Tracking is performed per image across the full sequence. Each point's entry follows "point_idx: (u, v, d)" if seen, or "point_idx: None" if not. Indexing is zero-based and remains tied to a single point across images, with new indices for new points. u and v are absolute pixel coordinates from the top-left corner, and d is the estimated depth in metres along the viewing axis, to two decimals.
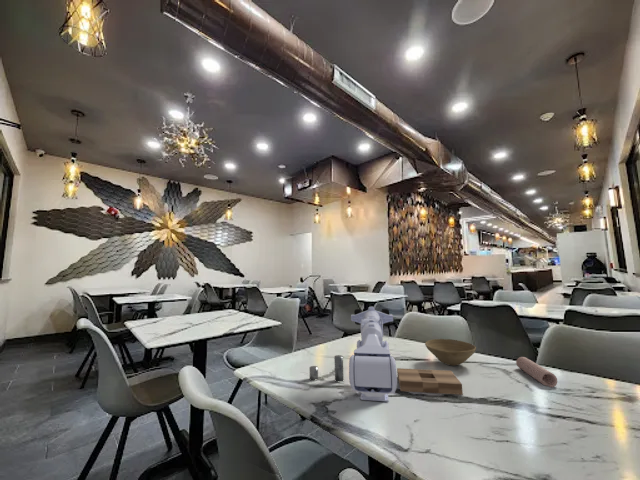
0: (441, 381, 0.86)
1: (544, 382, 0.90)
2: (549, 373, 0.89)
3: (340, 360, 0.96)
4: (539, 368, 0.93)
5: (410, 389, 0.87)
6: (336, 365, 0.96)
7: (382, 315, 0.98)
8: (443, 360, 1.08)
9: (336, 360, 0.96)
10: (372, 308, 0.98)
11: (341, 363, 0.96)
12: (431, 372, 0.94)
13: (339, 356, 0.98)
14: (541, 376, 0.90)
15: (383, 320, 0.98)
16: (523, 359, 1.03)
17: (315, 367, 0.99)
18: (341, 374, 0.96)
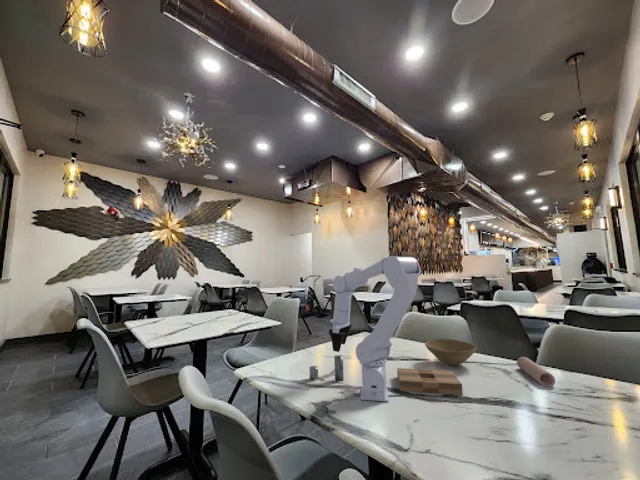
0: (441, 381, 0.86)
1: (542, 382, 0.91)
2: (547, 373, 0.89)
3: (340, 360, 0.96)
4: (538, 368, 0.93)
5: (410, 389, 0.87)
6: (336, 365, 0.96)
7: None
8: (443, 360, 1.08)
9: (336, 360, 0.96)
10: (332, 319, 1.01)
11: (341, 363, 0.96)
12: (431, 372, 0.94)
13: (339, 356, 0.98)
14: (539, 376, 0.90)
15: None
16: (523, 359, 1.03)
17: (315, 367, 0.99)
18: (341, 374, 0.96)
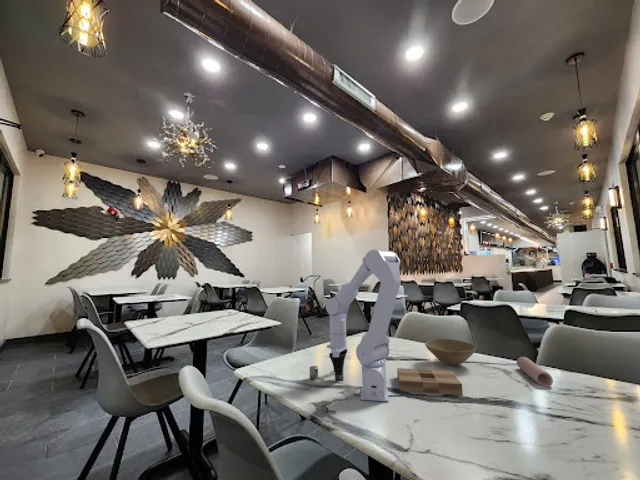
0: (441, 381, 0.86)
1: (540, 382, 0.91)
2: (544, 373, 0.89)
3: None
4: (536, 368, 0.93)
5: (410, 389, 0.87)
6: None
7: None
8: (443, 360, 1.08)
9: None
10: (328, 345, 0.99)
11: None
12: (431, 372, 0.94)
13: None
14: (536, 375, 0.90)
15: None
16: (523, 359, 1.03)
17: (315, 367, 0.99)
18: None
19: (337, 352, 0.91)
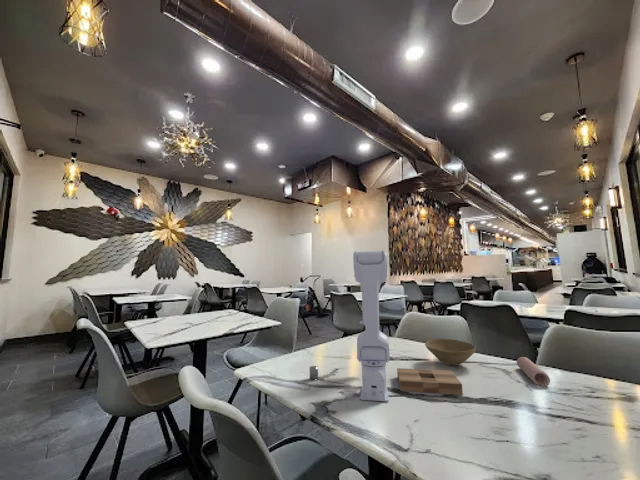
0: (441, 381, 0.86)
1: (537, 381, 0.91)
2: (541, 372, 0.90)
3: None
4: (533, 368, 0.94)
5: (410, 389, 0.87)
6: None
7: None
8: (443, 360, 1.08)
9: None
10: (361, 321, 1.06)
11: None
12: (431, 372, 0.94)
13: None
14: (533, 375, 0.90)
15: None
16: (523, 359, 1.03)
17: (315, 367, 0.99)
18: None
19: None
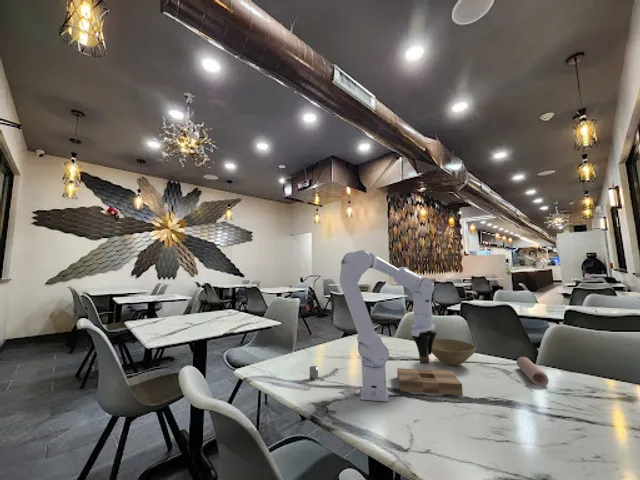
0: (441, 381, 0.86)
1: (536, 381, 0.91)
2: (540, 372, 0.90)
3: None
4: (532, 367, 0.94)
5: (410, 389, 0.87)
6: None
7: None
8: (443, 360, 1.08)
9: None
10: (414, 325, 0.96)
11: None
12: (431, 372, 0.94)
13: None
14: (532, 375, 0.91)
15: None
16: (522, 359, 1.03)
17: (315, 367, 0.99)
18: None
19: (416, 331, 0.88)
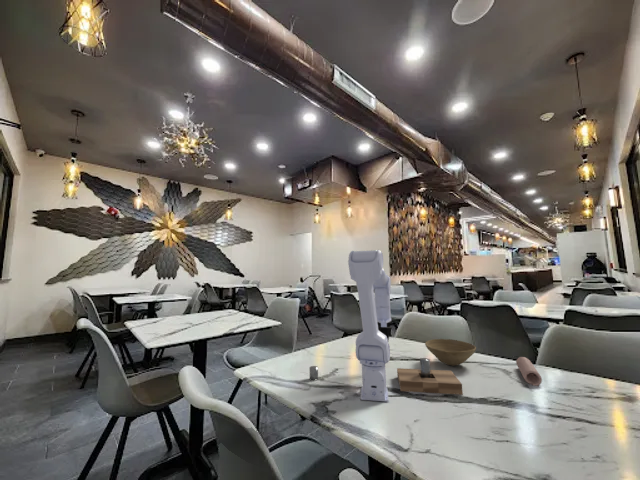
0: (441, 381, 0.86)
1: (530, 381, 0.92)
2: (533, 372, 0.90)
3: (425, 363, 0.91)
4: (527, 367, 0.94)
5: (410, 389, 0.87)
6: (421, 368, 0.92)
7: None
8: (443, 360, 1.08)
9: (421, 363, 0.92)
10: None
11: (427, 367, 0.91)
12: (431, 372, 0.94)
13: (425, 359, 0.92)
14: (525, 374, 0.91)
15: None
16: (521, 359, 1.03)
17: (315, 367, 0.99)
18: None
19: (385, 322, 0.99)
